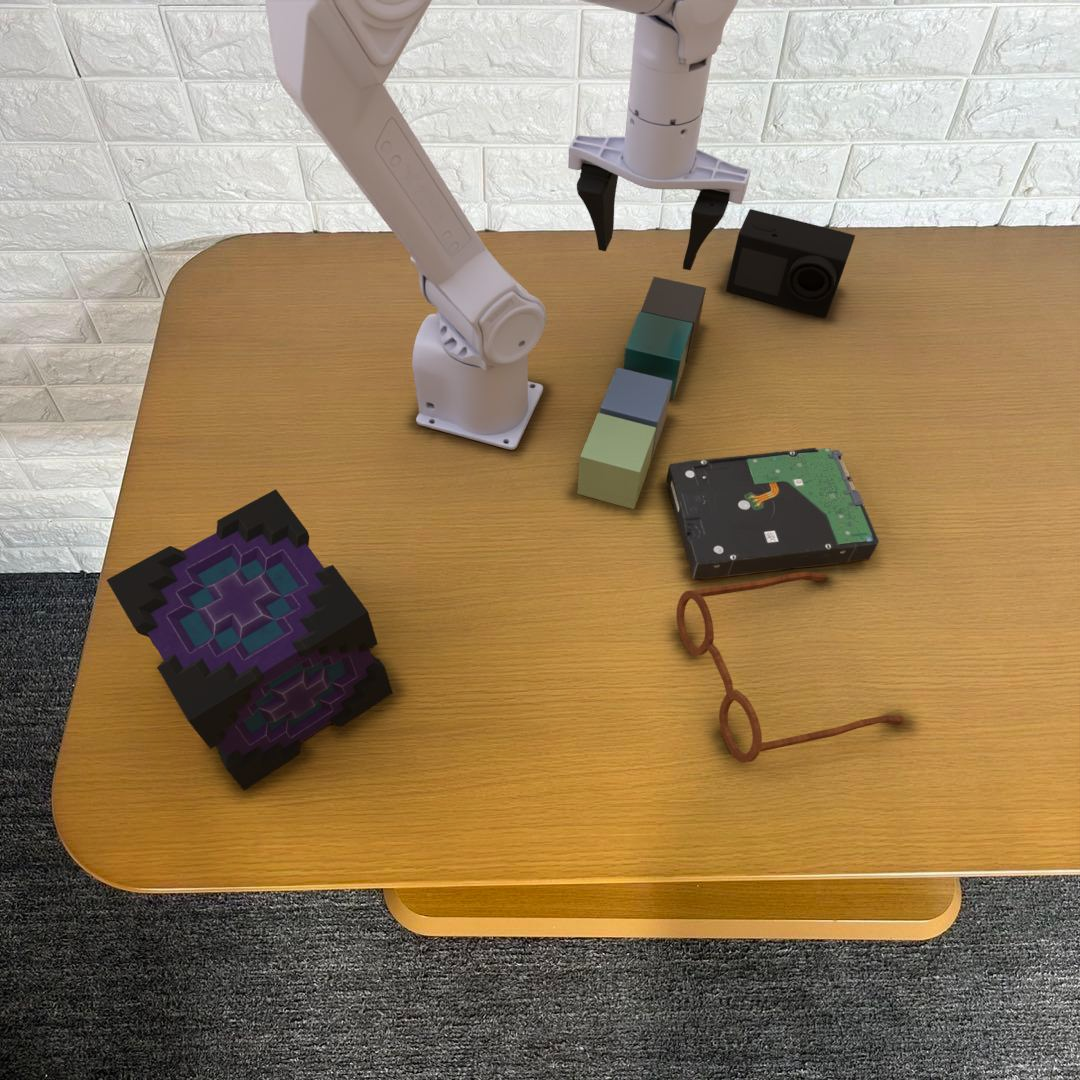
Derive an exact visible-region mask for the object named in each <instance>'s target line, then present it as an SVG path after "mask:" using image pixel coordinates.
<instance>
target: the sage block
mask: <svg viewBox="0 0 1080 1080" xmlns="http://www.w3.org/2000/svg"><path fill="white" fill-rule="evenodd" d="M655 432H656V427H652V426H648V425H644V424H640V423H636V422H633V421H629V420H625V419H621V418H617V417H613V416H609V415H605V414H602V413H600V412H597V414H596V416H595V419H594V421H593V423H592V426H591V428H590V431H589V433H588V435H587V438H586V440H585V443H584V446H583V448H582V450H581V452H580V455H579V463H578V464H579V466H578V478H577V495H581V496H584V497H587V498H591V499H595V500H599V501H602V502H606V503H609V504H613V505H616V506H620V507H623V508H627V509H631V510H635V508H636V506H637V503H638V500H639V497H640V495H641V493H642V492H641V491H642V488H643V487H644V486H643V485H644V484H645V480H646V478H647V474H648V472H649V469H650V466H651V461H652V460H651V455H652V449H653V443H654V437H655Z"/></svg>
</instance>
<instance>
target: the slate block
mask: <svg viewBox="0 0 1080 1080" xmlns="http://www.w3.org/2000/svg"><path fill="white" fill-rule="evenodd" d="M607 387H608V388H607V389H606V392H605V395H604V397H603V399H602V402H601V404H600V406H599V413H602V414H605V415H609V416H613V417H617V418H621V419H625V420H629V421H633V422H636V423H640V424H644V425H648V426H652V427H656V432H655V437H654V443H653V449H652V455H651V461H652V460H653V457H654V454H655V453H656V449H657V446H658V443H659V440H660V437H661V435H662V433H663V429H664V426H665V423H666V420H667V415H668V409H669V403H670V400H671V399H670V393H671V387H672V381H671V380H667V379H663V378H659V377H655V376H650V375H646V374H642V373H638V372H634V371H630V370H626V369H623V367H622V368H621V367H617V366H616V368H615V370H614V372H613V374H612V377H611V380H610V381H609V385H608V386H607Z"/></svg>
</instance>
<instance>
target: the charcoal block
mask: <svg viewBox="0 0 1080 1080" xmlns="http://www.w3.org/2000/svg"><path fill="white" fill-rule="evenodd" d="M706 290H707V288H706V287H705V286H700V285H695V284H691V283H686V282H682V281H676V280H672V279H668V278H663V277H659V276H653V278H652V280H651V283H650V286H649V288H648V291H647V293H646V296H645V299H644V301H643V304H642V307H641V308H640V312H645V313H649V314H654V315H658V316H663V317H667V318H672V319H676V320H681V321H685V322H690V323H693V326H692V332H691V337H690V342H689V347H688V352H687V357H686V363H688V361H689V357H690V354H691V352H692V348H693V345H694V341H695V339H696V335H697V332H698V329H699V325H700V320H701V315H702V311H703V307H704V300H705V296H706ZM686 363H685V364H686Z"/></svg>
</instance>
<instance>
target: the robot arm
mask: <svg viewBox="0 0 1080 1080" xmlns="http://www.w3.org/2000/svg"><path fill="white" fill-rule="evenodd" d="M432 1H433V0H264V6H265V12H266V18H267V25H268V30H269V31H268V32H269V37H270V43H271V50H272V58H273V64H274V69H275V73H276V76H277V79H278V80H279V82H280V84H281V86H282V88H283V90H284V91H285V92H286V94H287V95H288V97H289V98H290V99H291V100H292V102H293V103H294V104H295V106H296V107H297V109H298V110H299V111H300V112H301V113H302V115H303V116H304V118H305V119H306V120H307V121H308V123H309V124H310V125H311V126H312V128H313V129H314V131H315V132H316V133H317V134H318V136H319V137H320V139H321V140H322V141H323V142H324V144H325V145H326V146H327V147H328V149H329V151H331V153H332V154H333V156H334V157H335V158H336V159H337V161H338V162H339V163H340V164H341V166H342V168H343V169H344V170H345V171H346V172H347V173H348V175H349V176H350V178H351V179H352V180H353V182H354V183H355V184H356V186H357V187H358V189H360V191H361V192H362V193H363V195H364V196H365V197H366V199H367V200H368V202H369V203H370V204H371V205H372V207H373V208H374V209H375V210H376V213H378V214H379V216H380V217H381V218H382V219H383V221H384V222H385V224H386V225H387V227H388V228H389V229H390V230H391V232H392V233H393V234H394V235H395V237H396V238H397V240H398V241H399V242H400V244H401V245H402V246H403V248H405V250H406V251H407V252H408V254H409V255H410V259H409V260H410V262H411V263H412V265H413V266H414V267H415V269H416V270H417V274H418V279H419V281H418V282H419V289H420V293H421V295H422V297H423V298H424V299H425V300H426V302H427V303H428V304H429V305H432V306H433V307H434V308H435V309H436V313H430V314H429V315H427V316H426V317H425V318H424V320H423V321H422V323H421V325H420V327H419V329H418V332H417V334H416V337H415V341H414V345H413V349H412V361H411V366H412V375H413V380H414V386H415V387H414V388H415V394H416V401H417V406H418V414H417V415H416V418H415V421H416V424H417V425H418V426H421V427H424V428H429V429H432V430H435V431H436V430H437V431H440V432H444V433H447V434H451V435H454V436H458V437H462V438H465V439H470V440H473V441H477V442H479V443H484V444H487V445H491V446H495V447H499V448H502V449H506V450H511V451H513V450H515V449H517V447H518V446H519V443H520V442H521V439H522V437H523V435H524V433H525V430H526V428H527V426H528V424H529V422H530V420H531V418H532V416H533V414H534V411H535V410H536V407H537V405H538V404H539V401H540V398H541V397H542V394H543V392H544V386H543V385H542V384H541V383H537V382H533V381H529V353H530V352H531V351H532V350H533V349H534V348H535V346H537V344H538V342H539V341H540V339H541V337H542V335H543V332H544V330H545V327H546V324H547V323H546V322H547V310H546V307H545V305H544V303H543V302H542V301H541V300H540V299H539V298H538V297H537V296H535V295H532V294H531V293H530V292H528V291H527V290H526V289H525V288H524V286H522V285H521V284H520V282H518V281H517V280H516V279H515V278H514V277H513V276H512V275H511V274H510V273H509V272H508V271H507V270H506V269H505V268H504V267H503V266H502V265H501V264H500V263H499V262H498V260H497V259H496V258H495V257H494V255H493V254H492V253H491V252H490V251H489V250H488V248H487V247H486V245H485V244H484V242H483V241H482V239H481V238H480V236H479V234H478V233H477V231H476V230H475V228H474V227H473V225H472V223H471V222H470V220H469V218H468V217H467V216H466V214H465V212H464V211H463V209H462V207H461V206H460V204H459V203H458V201H457V199H456V198H455V197H454V195H453V193H452V192H451V190H450V188H449V186H448V185H447V184H446V182H445V181H444V179H443V177H442V176H441V174H440V172H439V171H438V169H437V168H436V167H435V165H434V163H433V161H432V160H431V158H430V156H429V155H428V153H427V152H426V151H425V149H424V148H423V145H422V144H421V142H420V141H419V139H418V138H417V136H416V134H415V133H414V131H413V130H412V128H411V127H410V125H409V123H408V121H407V120H406V118H405V117H404V115H403V114H402V112H401V110H400V109H399V108H398V106H397V105H396V103H395V101H394V99H393V98H392V96H391V95H390V93H389V92H388V89H386V87H385V85H384V84H385V83H386V81H387V79H388V77H389V76H390V74H391V72H392V70H393V69H394V67H395V66H396V64H397V62H398V60H399V58H400V57H401V55H402V54H403V51H404V50H405V48H406V47H407V44H408V43H409V41H410V39H411V38H412V36H413V34H414V33H415V31H416V29H417V27H418V25H419V24H420V22H421V21H422V19H423V18H424V15H425V13H426V11H427V10H428V9H429V6H430V5H431V3H432ZM579 1H581V2H585V3H589V4H593V5H598V6H602V7H605V8H610V9H614V10H618V11H622V12H626V13H629V14H634V15H635V22H634V33H633V45H632V54H631V55H632V56H631V57H632V58H631V67H630V68H631V69H630V79H629V88H628V89H629V90H628V102H627V110H626V119H625V129H624V130H625V131H624V136H591V135H584V134H578V133H577V134H575V135H574V137H573V139H572V141H571V142H570V144H569V146H568V162H567V169H570V170H574V171H580V172H579V178H578V179H577V181H576V192H577V195H578V196H579V198H580V199H581V201H582V202H583V204H584V206H585V209H586V210H587V212H588V214H589V216H590V220H591V223H592V225H593V229H594V232H595V237H596V242H597V249H598V250H599V251H601V252H606V251H607V250H608V247H609V245H610V243H611V241H612V239H613V234H614V227H615V202H616V193H617V187H618V181H619V180H618V179H619V177H620V178H622V179H624V180H627V181H629V182H631V183H632V184H635V185H637V186H639V187H642V188H647V189H651V190H694V191H699V193H698V196H697V197H696V200H695V203H694V205H693V207H692V210H691V215H690V229H689V236H688V242H687V247H686V251H685V254H684V258H683V263H682V270H685V271H691V270H692V268H693V266H694V263H695V261H696V258H697V254H698V252H699V250H700V248H701V246H702V245H703V243H704V242H705V240H706V239H707V237H708V236H709V235H710V234H711V233H712V231H714V229H715V228H716V227H717V226H718V225H719V223H720V222H721V221H722V218H723V217H724V215H725V213H726V210H727V207H728V205H729V202H730V203H732V204H737V205H742V204H743V202H744V198H745V196H746V193H747V190H748V184H749V180H750V176H751V171H752V170H751V169H750V168H746V167H742V166H738V165H736V164H733V163H730V162H727V161H726V160H724V159H722V158H719V157H716V156H715V155H712V154H710V153H708V152H705V151H703V150H700V149H699V148H698V145H699V144H698V143H699V138H700V132H701V126H702V119H703V113H704V107H705V102H706V95H707V88H708V82H709V76H710V70H711V65H712V60H713V59H712V58H713V55H715V54H716V53H717V51H718V47H719V46H721V45H722V39H723V34H724V29H725V27H726V24H727V21H728V20H729V18H730V16H731V15H732V13H733V12H734V10H735V8H736V7H737V4H738V2H739V0H579Z"/></svg>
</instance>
